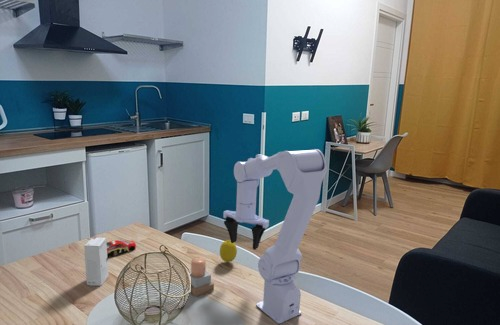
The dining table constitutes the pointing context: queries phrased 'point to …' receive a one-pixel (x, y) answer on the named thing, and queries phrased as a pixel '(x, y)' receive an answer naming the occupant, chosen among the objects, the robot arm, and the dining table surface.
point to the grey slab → (200, 280)
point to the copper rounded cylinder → (198, 267)
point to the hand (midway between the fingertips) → (244, 245)
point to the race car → (119, 247)
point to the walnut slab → (202, 289)
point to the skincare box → (96, 261)
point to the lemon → (228, 251)
